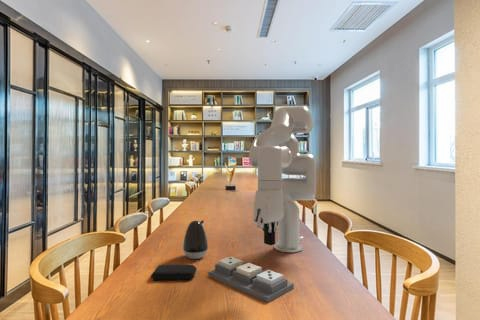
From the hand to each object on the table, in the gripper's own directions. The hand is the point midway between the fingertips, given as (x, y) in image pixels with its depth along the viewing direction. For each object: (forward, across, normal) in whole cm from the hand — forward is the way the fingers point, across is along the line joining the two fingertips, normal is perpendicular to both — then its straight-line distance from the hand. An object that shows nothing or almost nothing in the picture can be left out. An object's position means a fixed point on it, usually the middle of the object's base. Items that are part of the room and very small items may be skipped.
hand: (269, 243), depth 95 cm
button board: (+15, 0, -9) cm, 17 cm away
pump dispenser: (+15, -2, -41) cm, 44 cm away
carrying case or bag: (+15, +14, -32) cm, 38 cm away
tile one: (+12, 0, -9) cm, 15 cm away
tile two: (+12, 0, -18) cm, 22 cm away
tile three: (+12, 0, 0) cm, 12 cm away
